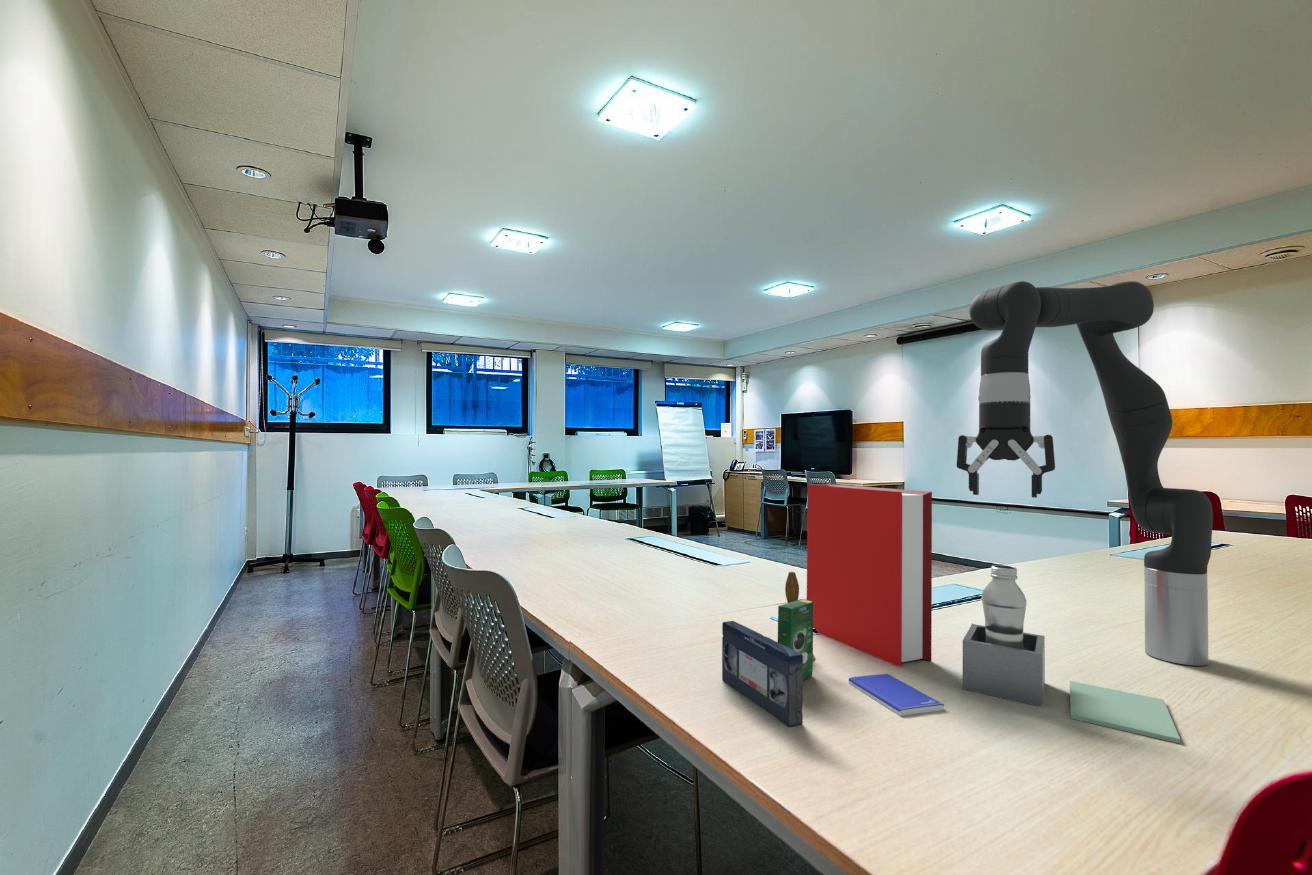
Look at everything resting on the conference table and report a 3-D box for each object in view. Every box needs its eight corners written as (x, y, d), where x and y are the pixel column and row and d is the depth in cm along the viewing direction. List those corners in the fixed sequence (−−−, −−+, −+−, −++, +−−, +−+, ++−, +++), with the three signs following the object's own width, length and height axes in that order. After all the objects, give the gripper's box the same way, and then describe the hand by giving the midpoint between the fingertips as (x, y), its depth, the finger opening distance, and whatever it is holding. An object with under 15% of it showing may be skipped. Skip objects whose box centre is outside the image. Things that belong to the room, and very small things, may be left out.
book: (931, 661, 107) (931, 491, 108) (900, 667, 103) (901, 492, 104) (829, 622, 131) (830, 484, 133) (802, 625, 128) (803, 484, 129)
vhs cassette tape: (720, 680, 96) (721, 621, 96) (735, 678, 97) (736, 619, 98) (786, 729, 79) (787, 657, 79) (803, 725, 80) (804, 654, 81)
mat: (1069, 684, 97) (1069, 680, 97) (1163, 703, 90) (1163, 699, 90) (1070, 718, 84) (1070, 714, 84) (1180, 743, 77) (1180, 738, 77)
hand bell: (798, 667, 102) (798, 578, 103) (761, 654, 109) (762, 571, 109) (823, 657, 108) (824, 573, 108) (787, 645, 114) (788, 566, 115)
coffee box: (799, 671, 100) (800, 597, 101) (814, 676, 98) (814, 600, 99) (775, 684, 95) (776, 605, 95) (790, 689, 93) (791, 608, 93)
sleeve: (972, 667, 104) (972, 623, 104) (1044, 682, 97) (1044, 635, 98) (962, 688, 94) (962, 640, 94) (1042, 707, 88) (1042, 654, 88)
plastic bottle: (1035, 695, 92) (1034, 571, 93) (989, 691, 93) (989, 569, 94) (1018, 680, 98) (1018, 564, 99) (975, 676, 100) (975, 562, 100)
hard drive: (944, 702, 86) (888, 672, 98) (899, 708, 84) (848, 676, 96) (944, 713, 86) (888, 681, 98) (899, 719, 84) (848, 686, 96)
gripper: (1055, 401, 96) (1055, 497, 96) (960, 404, 105) (960, 492, 104) (1054, 397, 90) (1054, 499, 90) (954, 401, 98) (954, 494, 98)
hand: (1004, 495), depth 97 cm, fingers open, 8 cm apart
